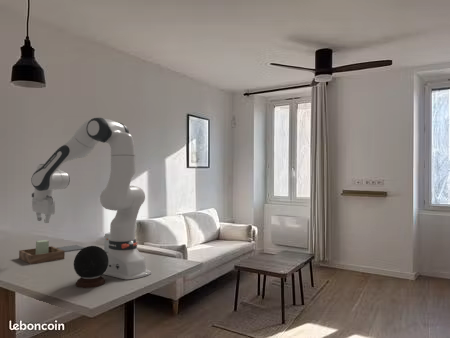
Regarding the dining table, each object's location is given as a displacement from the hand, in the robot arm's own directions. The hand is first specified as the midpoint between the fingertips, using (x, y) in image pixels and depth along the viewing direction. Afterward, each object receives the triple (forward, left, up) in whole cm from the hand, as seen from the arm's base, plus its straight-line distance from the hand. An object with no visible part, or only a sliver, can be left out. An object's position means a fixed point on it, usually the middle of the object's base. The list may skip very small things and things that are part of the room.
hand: (42, 221), depth 175 cm
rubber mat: (+13, -21, -19) cm, 31 cm away
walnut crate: (0, 0, -19) cm, 19 cm away
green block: (0, 0, -19) cm, 19 cm away
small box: (-9, -35, -19) cm, 41 cm away
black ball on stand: (-55, +2, -19) cm, 58 cm away
